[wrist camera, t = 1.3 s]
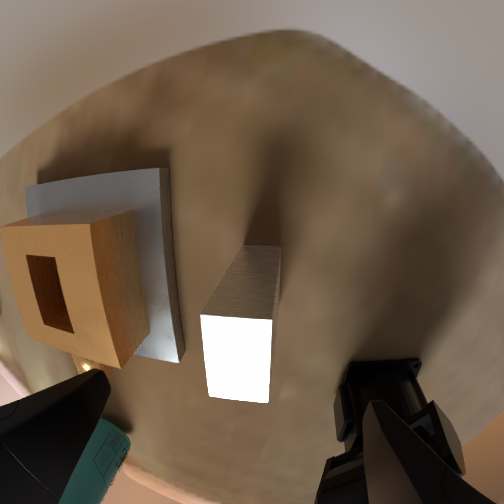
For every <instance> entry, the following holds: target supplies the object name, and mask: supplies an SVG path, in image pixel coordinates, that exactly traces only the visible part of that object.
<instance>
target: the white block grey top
mask: <svg viewBox="0 0 504 504" xmlns="http://www.w3.org/2000/svg"><path fill="white" fill-rule="evenodd" d="M280 271H281V246H264V245H243V246H242V247H241V249H240V251H239V252H238V254H237V256H236V257H235V259H234V260H233V262H232V264H231V265H230V267H229V269H228V270H227V272H226V273H225V275H224V277H223V278H222V280H221V282H220V283H219V285H218V286H217V288H216V290H215V291H214V293H213V295H212V296H211V298H210V300H209V301H208V303H207V304H206V306H205V308H204V309H203V311H202V313H201V314H200V317H201V327H202V337H203V346H204V355H205V364H206V372H207V380H208V387H209V395H210V396H214V397H221V398H228V399H237V400H246V401H257V402H268V397H269V389H270V381H271V373H272V364H273V356H274V347H275V338H276V329H277V320H278V310H279V295H280Z"/></svg>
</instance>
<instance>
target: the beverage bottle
mask: <svg viewBox="0 0 504 504" xmlns="http://www.w3.org/2000/svg"><path fill="white" fill-rule="evenodd" d="M130 445H131V442H130V440H129V438H128V437H127V435H126V434H125V433H124V432H123V431H121V430H120V429H119V428H118V427H116V426H115V425H114V424H112V423H110V422H109V421H107V420H105V419H102V418H100V419H99V422H98V424H97V426H96V428H95V430H94V432H93V434H92V436H91V438H90V440H89V442H88V443H87V445H86V447H85V449H84V451H83V453H82V455H81V457H80V459H79V461H78V463H77V465H76V467H75V470H74V472H73V474H72V476H71V478H70V480H69V482H68V484H67V486H66V489H65V491H64V493H63V495H62V497H61V499H60V502H59V504H100V503H101V501H102V499H103V498H104V496H105V494H106V492H107V490H108V488H109V486H110V485H111V483H112V481H113V479H114V477H115V475H116V473H117V471H118V469H119V468H120V466H121V464H122V462H123V461H124V459H125V458H126V457H125V456H126V455H128V454H127V452H128V451H129V449H131V448H130ZM123 463H124V462H123Z"/></svg>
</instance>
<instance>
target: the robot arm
mask: <svg viewBox="0 0 504 504" xmlns="http://www.w3.org/2000/svg"><path fill="white" fill-rule="evenodd" d="M415 364H416V365H415ZM421 365H422V363H421V361H420V359H419V358H413V359H400V360H385V361H363V362H352V363H350V364H349V365H348V366H347V370H346V374H345V378H344V381H343V384H341V385H340V386H339V387H338V391H337V395H336V398H335V402H334V415H335V425H336V434H337V440H338V441H339V442H344V444H345V453H343V454H341V455H338V456H336V457H334V456H333V457H331V458H329V459H327V461H326V464H325V468H324V471H323V475H322V478H321V482H320V485H319V488H318V491H317V494H316V498H315V504H496V503H495V502H493V501H492V500H490V499H489V498H487V497H486V496H484V495H483V494H481V493H480V492H479V491H477V490H476V489H475V488H473V487H472V486H471V485H469V484H468V483H467V482H466V481H464V480H463V479H462V478H461V477H463V476H464V475H465V474H466V470H465V463H464V458H463V452H462V447H461V443H460V440H459V438H458V436H457V434H456V432H455V430H454V428H453V426H452V424H451V422H450V421H449V419H448V418H447V417H446V415H445V414H444V413H443V412H442V410H441V409H440V408H439V407H438V405H437V404H436V403H435V402H434V400H432V401H431V402H430V403H427V400H426V398H425V396H424V394H423V392H422V389H421V387H420V385H419V383H418V381H417V379H416V377H417V375H418V372H419V370H420V368H421ZM354 367H356V368H355V369H352V368H354ZM110 391H111V386H110V384H109V381H108V379H107V376H106V373H105V372H104V371H103V370H100V369H97V368H93V369H91V370H88V371H86V372H84V373H82V374H79V375H77V376H75V377H72V378H70V379H68V380H65V381H63V382H61V383H58V384H56V385H54V386H51V387H49V388H46V389H44V390H42V391H39V392H37V393H34V394H32V395H29V396H27V397H24V398H22V399H20V400H17V401H14V402H12V403H9V404H6V405H3V406H0V504H59V502H60V499H61V497H62V495H63V493H64V491H65V489H66V486H67V484H68V482H69V480H70V478H71V476H72V474H73V472H74V470H75V467H76V465H77V463H78V461H79V459H80V457H81V455H82V453H83V451H84V449H85V447H86V445H87V443H88V442H89V440H90V438H91V436H92V434H93V432H94V430H95V428H96V426H97V424H98V422H99V419H100V417H101V414H102V412H103V409H104V407H105V404H106V402H107V399H108V397H109V395H110Z"/></svg>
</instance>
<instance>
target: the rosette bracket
mask: <svg viewBox="0 0 504 504" xmlns="http://www.w3.org/2000/svg"><path fill="white" fill-rule="evenodd" d="M25 191H26V204H27V214H28V218H27V219H23V220H20V221H17V222H14V223H11V224H8V225H5V226H2V227H0V231H1V237H2V243H3V249H4V254H5V259H6V264H7V268H8V273H9V277H10V281H11V285H12V288H13V292H14V295H15V299H16V302H17V306H18V309H19V312H20V315H21V318H22V321H23V324H24V326H25V329H26V332H27V335H28V337H30V338H32V339H35V340H37V341H39V342H42V343H44V344H47V345H49V346H52V347H54V348H57V349H60V350H63V351H65V352H68V353H71V355H72V358H73V361H74V363H75V366H76V368H77V370H78V373H79V374H82V373H84V372H86V371H88V370H91V369H93V368H97V369H100V370H103V371H104V372H105V373H106V376H107V378H108V377H109V376H110V374H111V372H112V367H116V368H119V369H121V368H122V367H123V366H124V364H125V363H126V362H127V361H128V359H129V358H130V357H131V356H132V354H135V355H139V356H144V357H149V358H154V359H159V360H164V361H170V362H176V363H179V362H180V360H181V359H182V357H183V355H184V353H185V347H184V340H183V333H182V326H181V319H180V311H179V303H178V294H177V285H176V275H175V264H174V252H173V239H172V224H171V205H170V176H169V168H151V169H140V170H130V171H121V172H113V173H105V174H97V175H90V176H83V177H77V178H71V179H65V180H59V181H54V182H48V183H43V184H38V185H33V186H28V187H25ZM111 366H112V367H111Z"/></svg>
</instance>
